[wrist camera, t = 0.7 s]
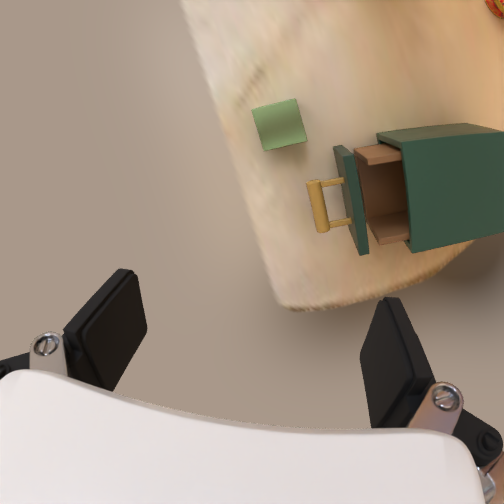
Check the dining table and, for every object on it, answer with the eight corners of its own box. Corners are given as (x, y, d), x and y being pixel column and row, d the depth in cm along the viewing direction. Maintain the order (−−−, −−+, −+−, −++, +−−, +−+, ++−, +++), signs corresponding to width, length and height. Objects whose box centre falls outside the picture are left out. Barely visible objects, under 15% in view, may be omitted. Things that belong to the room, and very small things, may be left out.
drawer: (318, 234, 40) (323, 263, 33) (299, 153, 35) (300, 165, 28) (435, 211, 35) (460, 234, 28) (428, 131, 30) (456, 139, 24)
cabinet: (389, 221, 38) (412, 253, 30) (376, 133, 33) (401, 142, 24) (471, 205, 34) (505, 231, 26) (465, 123, 29) (505, 131, 21)
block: (256, 109, 34) (251, 109, 29) (295, 99, 32) (295, 98, 28) (267, 146, 36) (263, 151, 31) (305, 137, 35) (307, 141, 30)
